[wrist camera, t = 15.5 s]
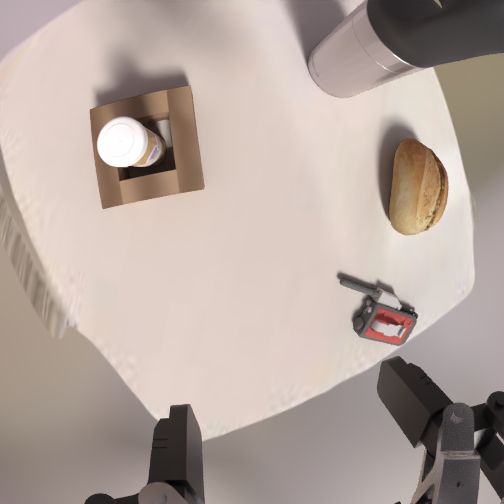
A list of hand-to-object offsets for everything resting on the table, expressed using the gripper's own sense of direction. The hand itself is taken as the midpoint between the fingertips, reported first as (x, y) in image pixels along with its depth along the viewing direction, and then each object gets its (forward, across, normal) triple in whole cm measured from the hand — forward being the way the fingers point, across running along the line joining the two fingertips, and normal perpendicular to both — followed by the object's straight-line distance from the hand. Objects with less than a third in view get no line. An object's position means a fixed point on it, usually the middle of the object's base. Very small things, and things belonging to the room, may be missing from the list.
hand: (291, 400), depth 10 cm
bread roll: (+30, -28, -4) cm, 41 cm away
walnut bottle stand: (+30, +9, -13) cm, 34 cm away
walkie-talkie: (+31, -22, +17) cm, 42 cm away
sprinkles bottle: (+30, +9, -13) cm, 34 cm away
